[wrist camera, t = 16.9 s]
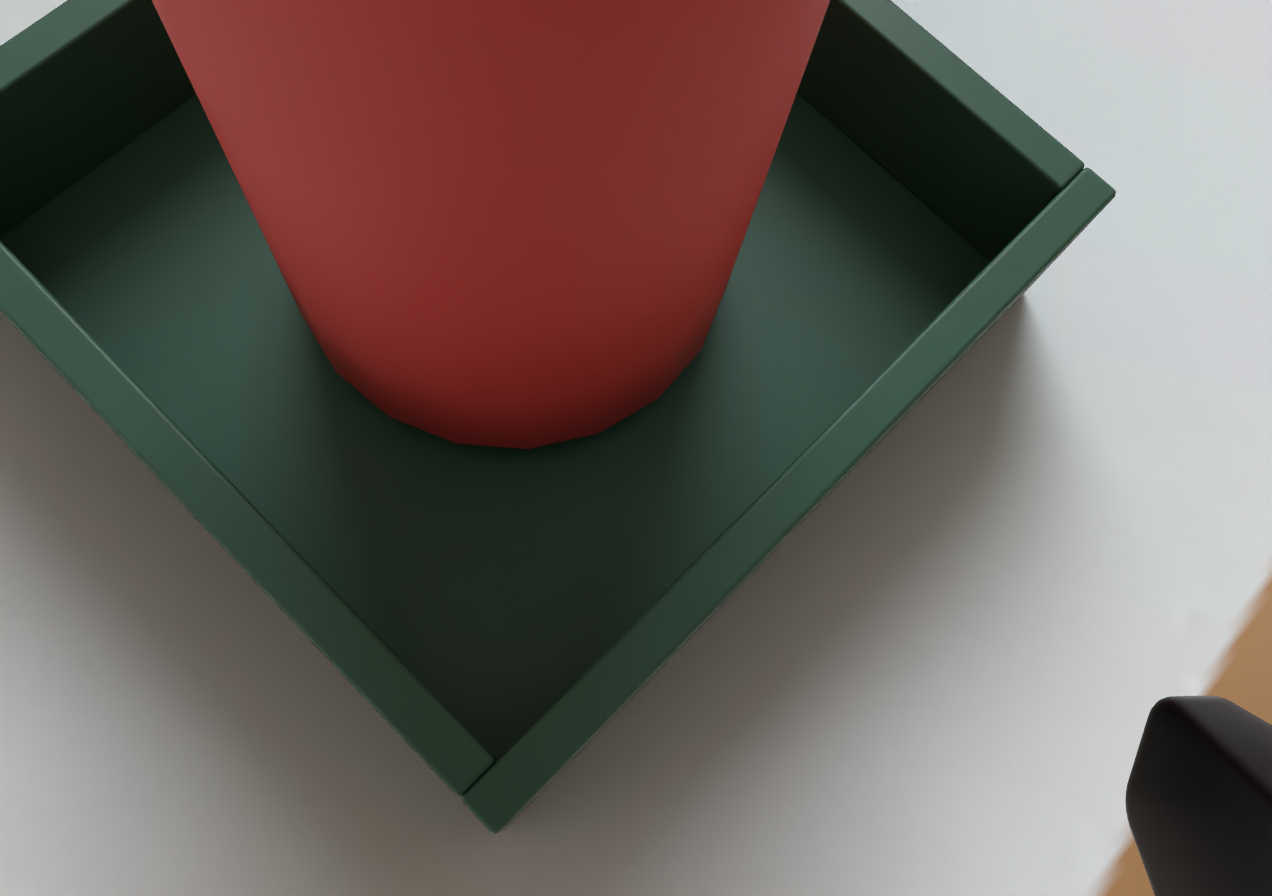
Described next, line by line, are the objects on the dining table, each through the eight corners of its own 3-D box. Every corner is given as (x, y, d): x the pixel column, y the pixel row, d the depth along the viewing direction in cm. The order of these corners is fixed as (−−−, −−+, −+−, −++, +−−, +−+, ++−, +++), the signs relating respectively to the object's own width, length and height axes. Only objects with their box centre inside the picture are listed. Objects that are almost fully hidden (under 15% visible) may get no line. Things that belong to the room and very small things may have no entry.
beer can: (756, 131, 19) (1075, -855, 8) (675, 506, 17) (945, -86, 6) (367, 38, 19) (118, -1094, 8) (240, 405, 17) (-347, -396, 6)
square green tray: (1027, 289, 20) (1119, 191, 17) (502, 832, 16) (495, 836, 13) (524, -148, 22) (523, -312, 18) (-36, 261, 18) (-154, 148, 15)
